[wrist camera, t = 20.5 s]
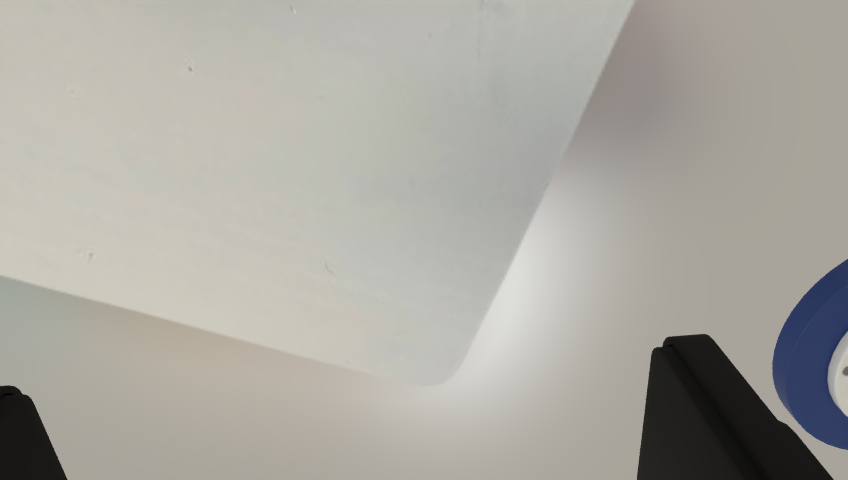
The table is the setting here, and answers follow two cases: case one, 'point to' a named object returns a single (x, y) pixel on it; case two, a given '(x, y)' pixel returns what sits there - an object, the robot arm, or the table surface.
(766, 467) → the robot arm
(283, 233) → the table surface
